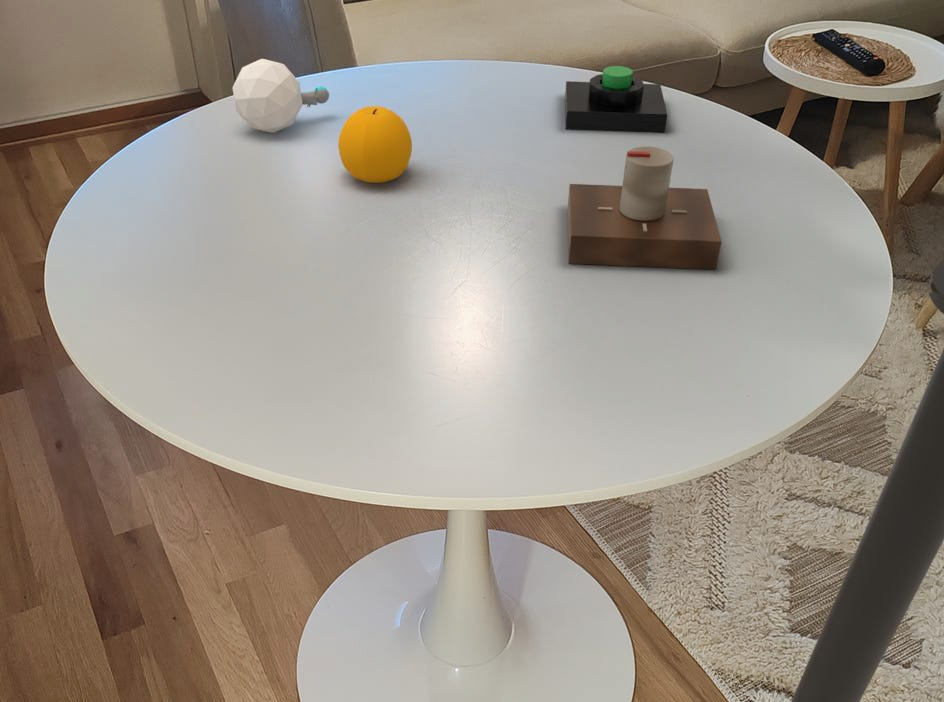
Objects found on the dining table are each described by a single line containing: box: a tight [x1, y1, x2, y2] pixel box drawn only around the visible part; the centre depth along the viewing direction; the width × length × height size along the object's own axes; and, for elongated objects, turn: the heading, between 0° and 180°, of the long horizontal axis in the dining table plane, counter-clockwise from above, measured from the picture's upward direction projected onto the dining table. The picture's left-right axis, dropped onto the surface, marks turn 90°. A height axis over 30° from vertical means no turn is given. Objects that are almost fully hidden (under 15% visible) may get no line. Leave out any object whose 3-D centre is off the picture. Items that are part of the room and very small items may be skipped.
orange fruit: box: [337, 105, 413, 184], centre depth 100 cm, size 8×8×8 cm
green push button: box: [602, 65, 634, 89], centre depth 113 cm, size 4×4×2 cm
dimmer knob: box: [620, 146, 675, 221], centre depth 88 cm, size 4×4×6 cm
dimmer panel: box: [566, 183, 722, 271], centre depth 91 cm, size 14×11×3 cm
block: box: [564, 73, 668, 133], centre depth 114 cm, size 12×10×4 cm
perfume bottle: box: [232, 58, 330, 134], centre depth 110 cm, size 8×8×12 cm
